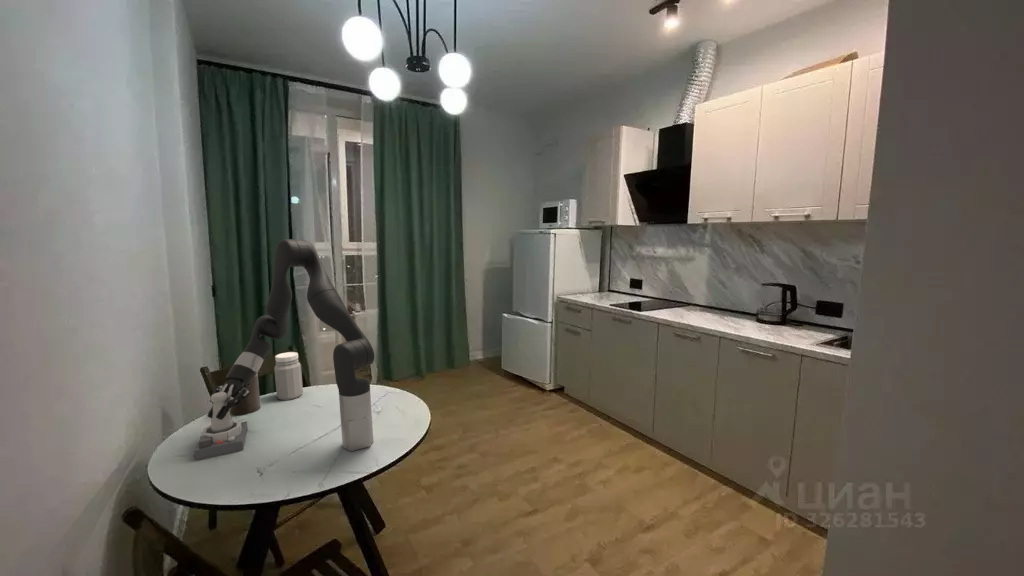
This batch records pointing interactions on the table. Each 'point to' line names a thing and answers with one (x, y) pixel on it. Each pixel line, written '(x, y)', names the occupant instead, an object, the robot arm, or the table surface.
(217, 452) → the octagon ring base
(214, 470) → the table surface
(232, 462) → the table surface
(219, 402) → the salt shaker
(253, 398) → the pillar candle
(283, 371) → the jar
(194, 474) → the table surface
